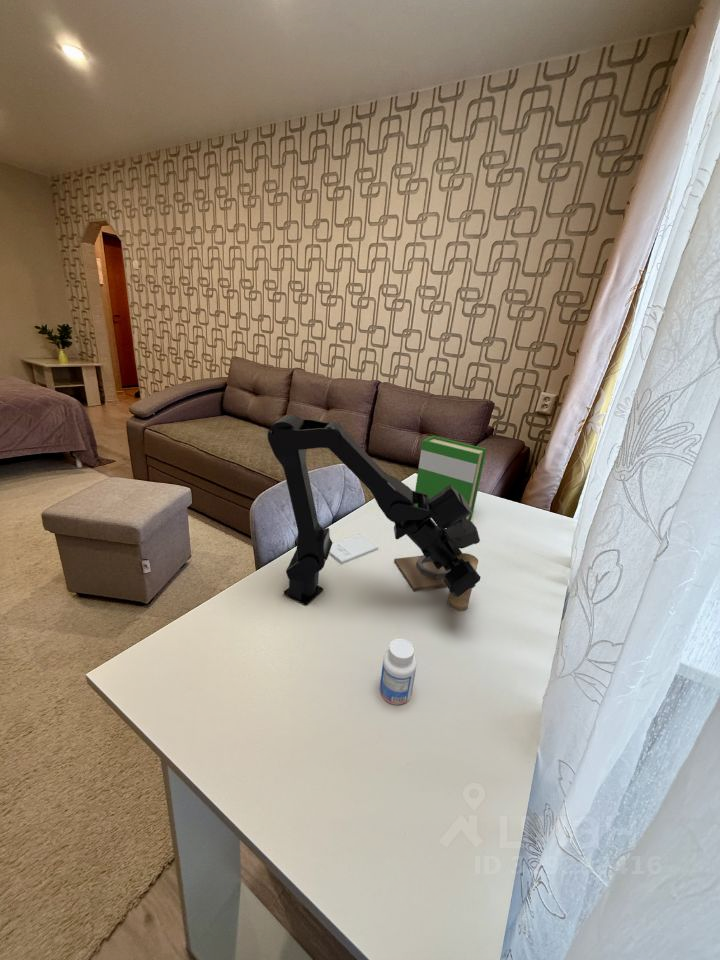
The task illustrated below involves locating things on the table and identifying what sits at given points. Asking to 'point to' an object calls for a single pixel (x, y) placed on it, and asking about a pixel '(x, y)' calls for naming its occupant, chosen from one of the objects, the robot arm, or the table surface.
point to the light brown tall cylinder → (463, 600)
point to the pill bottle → (398, 672)
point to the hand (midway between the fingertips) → (469, 579)
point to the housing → (421, 573)
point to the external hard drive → (351, 548)
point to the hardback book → (450, 468)
